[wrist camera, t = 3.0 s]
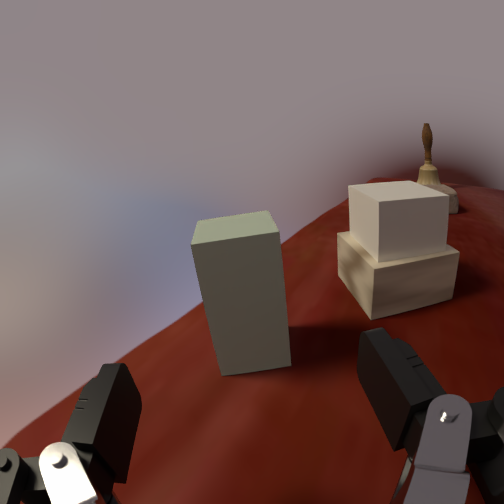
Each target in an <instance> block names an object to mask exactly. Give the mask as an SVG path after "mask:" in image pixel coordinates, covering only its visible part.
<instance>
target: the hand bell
mask: <svg viewBox="0 0 504 504" xmlns="http://www.w3.org/2000/svg"><path fill="white" fill-rule="evenodd" d="M422 140H423V145H424V148H425V165H424V166H422V167H420V171H419V178H418V181H417V183H418V184H421V185H427V184H429V185H431V184H432V185H441V183H440V181H439V178H438V172H437V168H435V167H434V166H433V165H432V163H431V161H432V159H431V147H432V140H433V139H432V132H431V129H430V126H429V124H428V123H424V127H423V131H422Z"/></svg>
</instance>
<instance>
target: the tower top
mask: <svg viewBox="0 0 504 504" xmlns="http://www.w3.org/2000/svg"><path fill="white" fill-rule="evenodd" d="M348 189H349V212H350V235H351V236H352V237H353V238H354V239H355V240H356V241H357V242H358V243H359V244H360V245H361V246H362V247H363V248H364V249H365V250H366V251H367V252H368V253H369V254H370V255H371V256H372V257H373V258H374V259H375V260H376V261H377V262H384V261H390V260H396V259H402V258H408V257H414V256H419V255H425V254H431V253H436V252H442V251H445V250H446V240H447V228H448V214H449V195H447V194H444V193H442V192H439V191H437V190H434V189H431V188H429V187H426V186H423V185H421V184H418V183H415V182H412V181H398V182H384V183H371V184H359V185H349V186H348Z"/></svg>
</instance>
